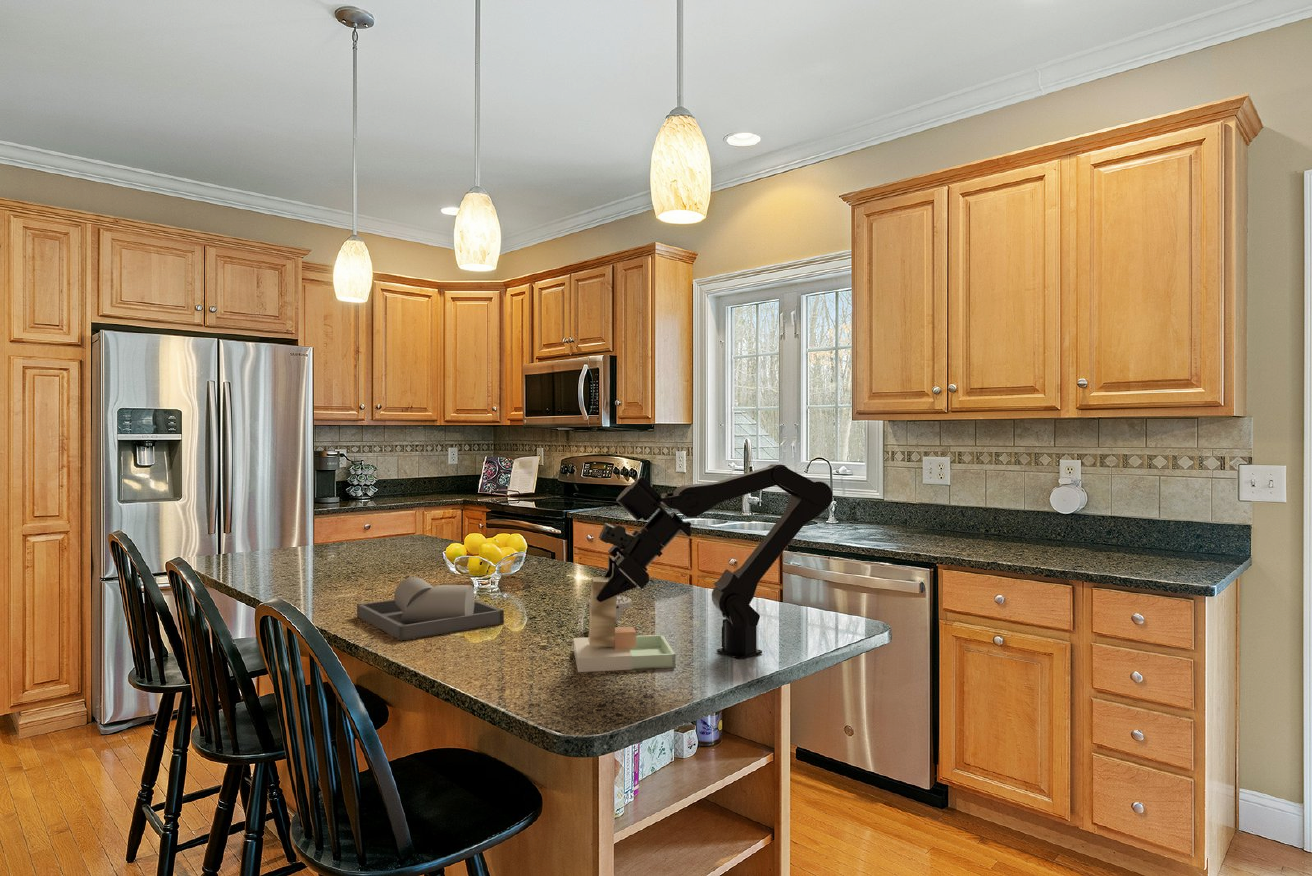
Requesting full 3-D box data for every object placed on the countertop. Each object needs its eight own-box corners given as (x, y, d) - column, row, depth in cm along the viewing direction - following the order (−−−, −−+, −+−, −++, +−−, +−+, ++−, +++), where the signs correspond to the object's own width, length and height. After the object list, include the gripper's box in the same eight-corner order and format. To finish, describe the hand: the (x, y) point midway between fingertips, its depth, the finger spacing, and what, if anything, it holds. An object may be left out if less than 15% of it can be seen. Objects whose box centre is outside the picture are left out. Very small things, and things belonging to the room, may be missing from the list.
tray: (662, 646, 154) (662, 634, 154) (675, 667, 140) (675, 654, 140) (623, 648, 153) (623, 636, 153) (632, 669, 139) (632, 656, 139)
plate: (623, 648, 153) (623, 636, 153) (632, 669, 139) (632, 655, 139) (573, 650, 151) (573, 638, 151) (577, 672, 138) (577, 658, 138)
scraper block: (611, 640, 148) (615, 577, 148) (614, 646, 143) (617, 582, 143) (588, 639, 147) (591, 577, 147) (590, 646, 143) (593, 581, 143)
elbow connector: (370, 623, 167) (462, 623, 166) (374, 574, 169) (465, 574, 169) (398, 622, 184) (481, 622, 184) (401, 577, 186) (483, 577, 186)
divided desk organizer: (503, 623, 173) (503, 610, 173) (400, 641, 158) (400, 626, 158) (452, 603, 194) (452, 591, 194) (357, 617, 179) (357, 604, 179)
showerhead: (625, 589, 175) (636, 598, 166) (625, 621, 175) (636, 632, 166) (584, 592, 173) (593, 601, 163) (584, 624, 173) (593, 635, 163)
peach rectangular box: (633, 642, 148) (633, 626, 148) (635, 647, 144) (635, 632, 144) (612, 643, 148) (612, 627, 148) (614, 648, 144) (614, 632, 144)
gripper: (618, 504, 155) (564, 560, 153) (630, 513, 137) (568, 577, 135) (657, 541, 156) (603, 598, 155) (674, 555, 138) (613, 620, 136)
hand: (596, 597), depth 145 cm, fingers closed on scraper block, 4 cm apart
